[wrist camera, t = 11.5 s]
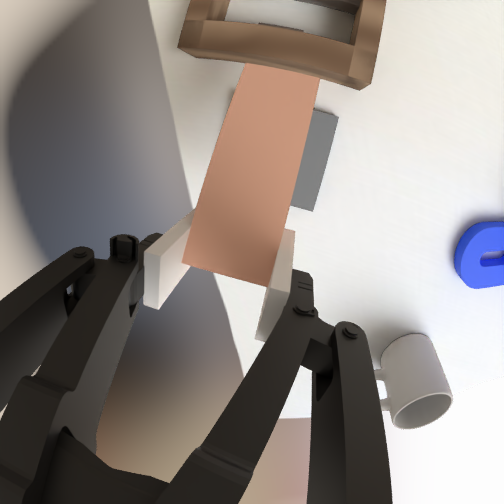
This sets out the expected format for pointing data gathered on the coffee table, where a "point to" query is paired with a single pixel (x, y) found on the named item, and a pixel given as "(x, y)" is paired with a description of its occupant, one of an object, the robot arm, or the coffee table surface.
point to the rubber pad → (314, 159)
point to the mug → (413, 382)
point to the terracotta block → (252, 175)
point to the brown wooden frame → (288, 41)
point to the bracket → (471, 251)
